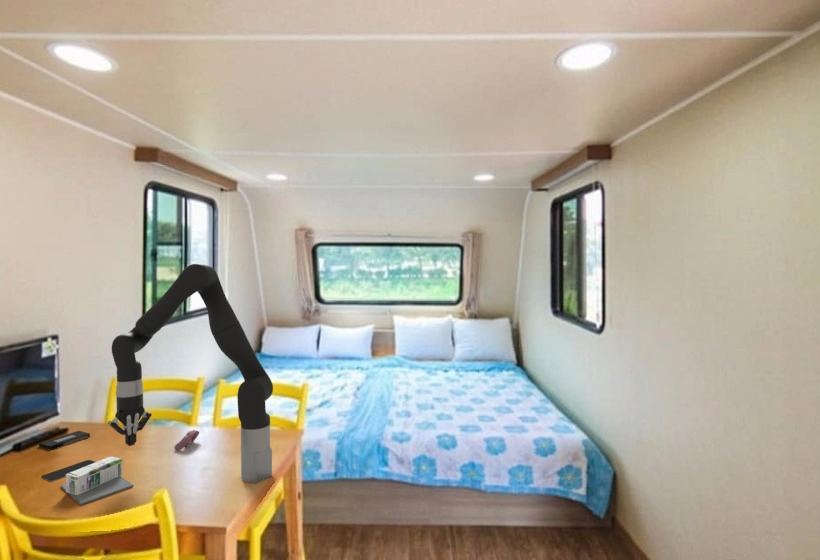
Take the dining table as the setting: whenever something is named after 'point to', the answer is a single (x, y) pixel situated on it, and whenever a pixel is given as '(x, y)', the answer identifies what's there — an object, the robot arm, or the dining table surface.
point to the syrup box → (93, 475)
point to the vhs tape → (64, 440)
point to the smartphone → (66, 470)
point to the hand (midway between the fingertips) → (131, 444)
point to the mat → (101, 490)
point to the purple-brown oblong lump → (187, 440)
